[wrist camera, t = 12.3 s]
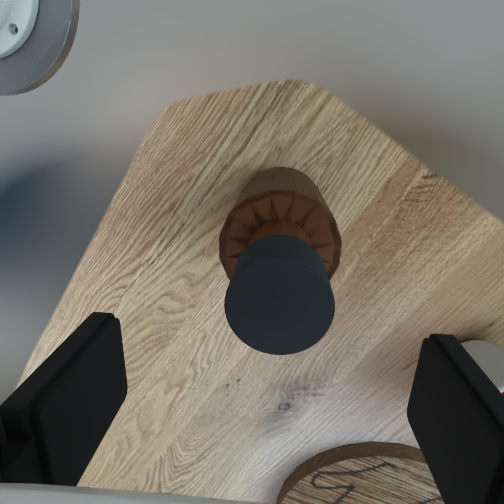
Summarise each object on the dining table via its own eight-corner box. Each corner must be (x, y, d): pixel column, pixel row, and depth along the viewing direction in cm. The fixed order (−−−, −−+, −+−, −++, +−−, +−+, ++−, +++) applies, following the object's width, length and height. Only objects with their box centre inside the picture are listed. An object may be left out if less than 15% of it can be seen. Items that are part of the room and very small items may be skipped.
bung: (221, 261, 19) (201, 303, 15) (283, 206, 18) (283, 234, 13) (276, 316, 20) (275, 373, 16) (339, 268, 19) (358, 314, 14)
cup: (492, 294, 34) (552, 341, 26) (552, 337, 35) (626, 395, 27) (413, 368, 37) (446, 429, 30) (469, 405, 38) (515, 473, 31)
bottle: (225, 205, 33) (176, 270, 18) (284, 149, 31) (284, 170, 16) (277, 260, 34) (273, 363, 19) (337, 210, 32) (384, 283, 17)
